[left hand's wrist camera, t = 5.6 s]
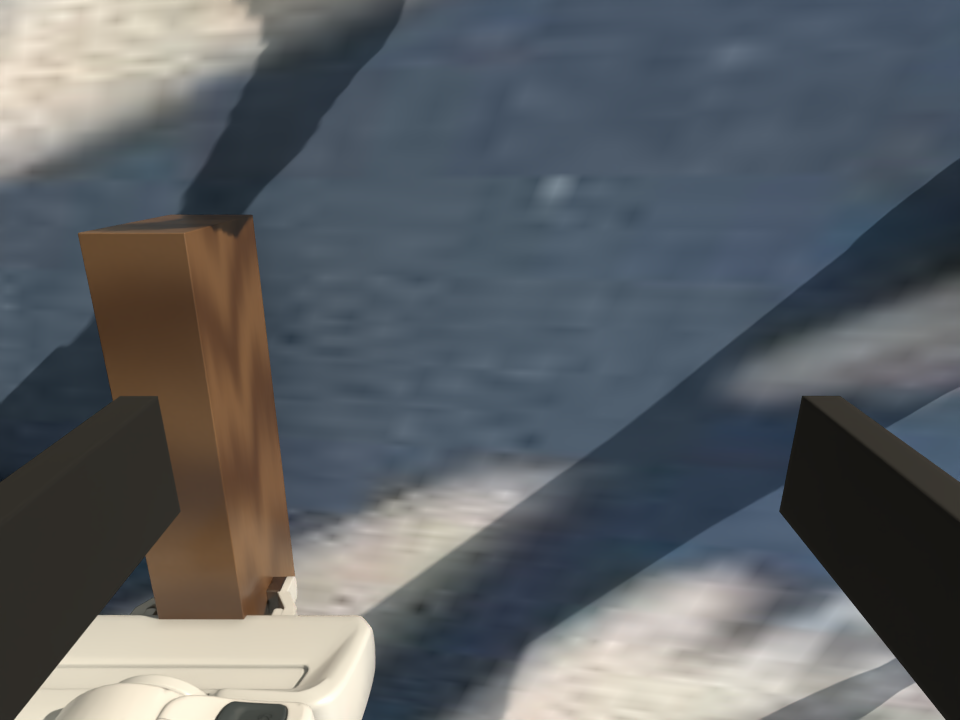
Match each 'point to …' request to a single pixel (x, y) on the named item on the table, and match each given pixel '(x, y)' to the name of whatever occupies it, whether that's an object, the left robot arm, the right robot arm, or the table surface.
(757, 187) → the table surface
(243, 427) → the bar
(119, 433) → the left robot arm
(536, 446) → the table surface
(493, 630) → the table surface
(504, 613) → the table surface
